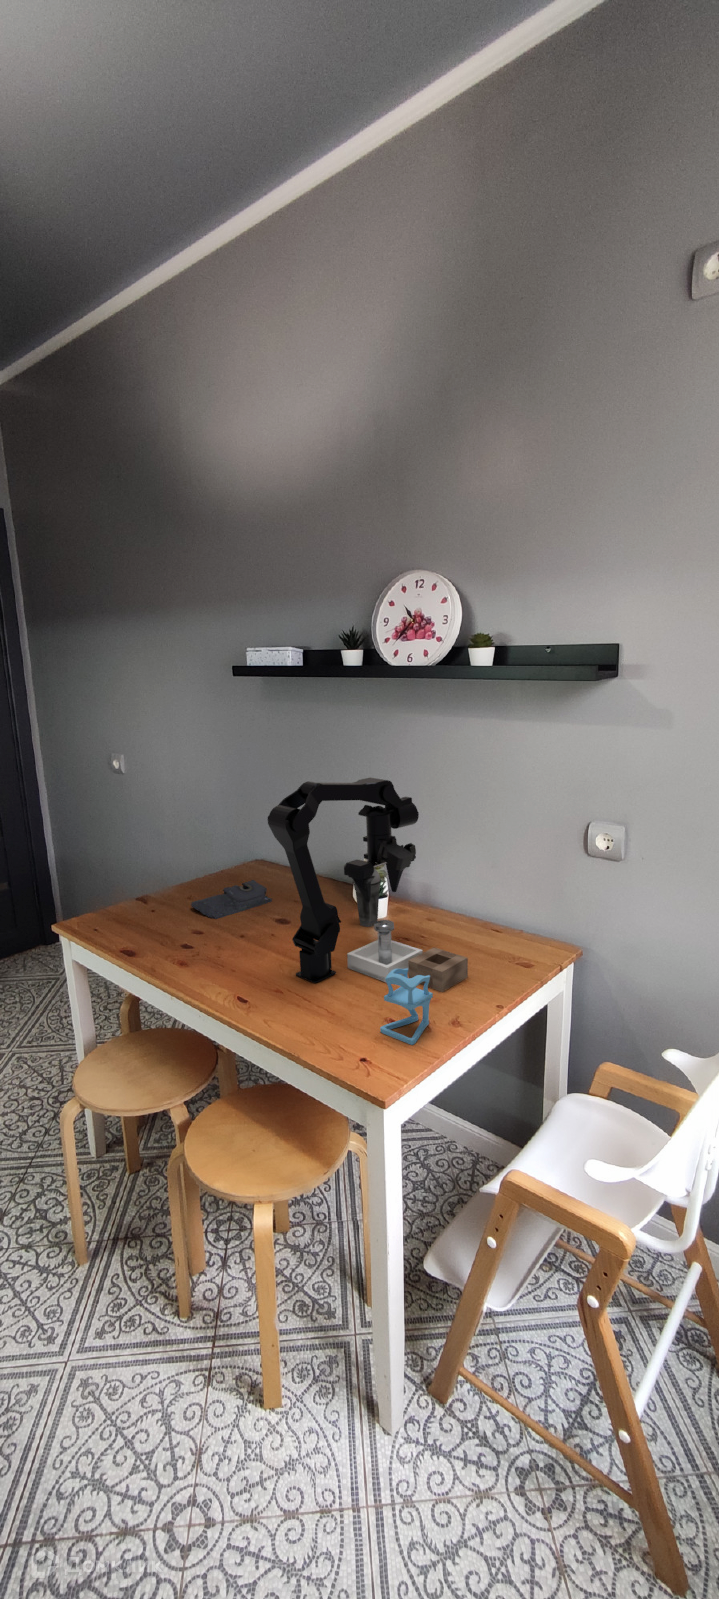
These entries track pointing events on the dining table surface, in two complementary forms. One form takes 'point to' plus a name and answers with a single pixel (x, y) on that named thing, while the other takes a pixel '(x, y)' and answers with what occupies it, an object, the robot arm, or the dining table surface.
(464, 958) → the block
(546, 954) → the dining table surface
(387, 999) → the chair
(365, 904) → the beverage cup
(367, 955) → the tray
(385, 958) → the lock pin
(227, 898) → the grey stepped plate
